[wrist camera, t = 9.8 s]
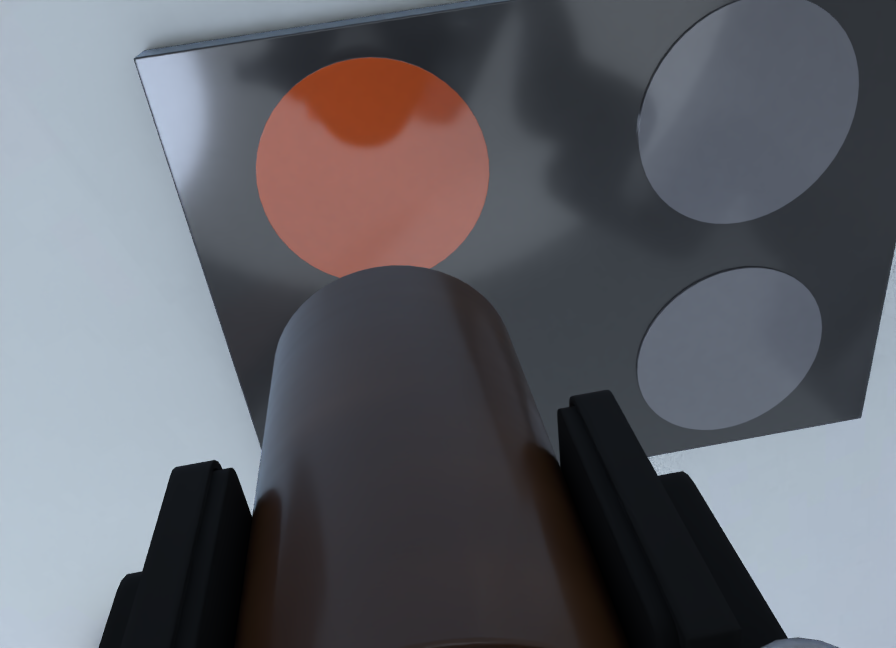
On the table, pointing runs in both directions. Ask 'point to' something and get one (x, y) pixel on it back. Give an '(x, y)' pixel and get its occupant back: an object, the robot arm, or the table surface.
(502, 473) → the pepper mill
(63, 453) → the table surface
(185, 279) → the table surface
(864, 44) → the hob
